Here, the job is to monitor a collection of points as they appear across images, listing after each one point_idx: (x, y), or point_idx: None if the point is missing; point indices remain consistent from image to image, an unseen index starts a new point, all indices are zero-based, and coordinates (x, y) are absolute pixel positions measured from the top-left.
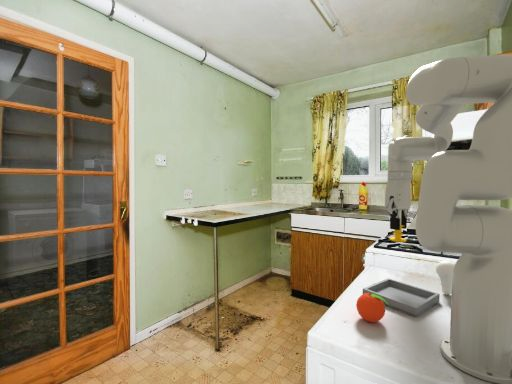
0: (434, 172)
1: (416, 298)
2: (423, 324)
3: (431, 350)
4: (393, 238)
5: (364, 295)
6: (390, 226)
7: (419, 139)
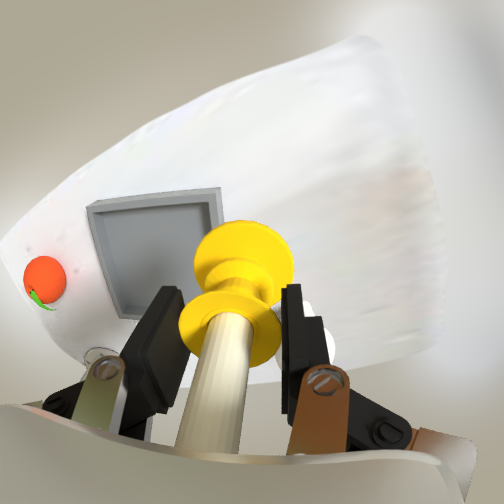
0: None
1: (192, 283)
2: (121, 321)
3: (85, 341)
4: (221, 254)
5: (24, 284)
6: (158, 297)
7: None
